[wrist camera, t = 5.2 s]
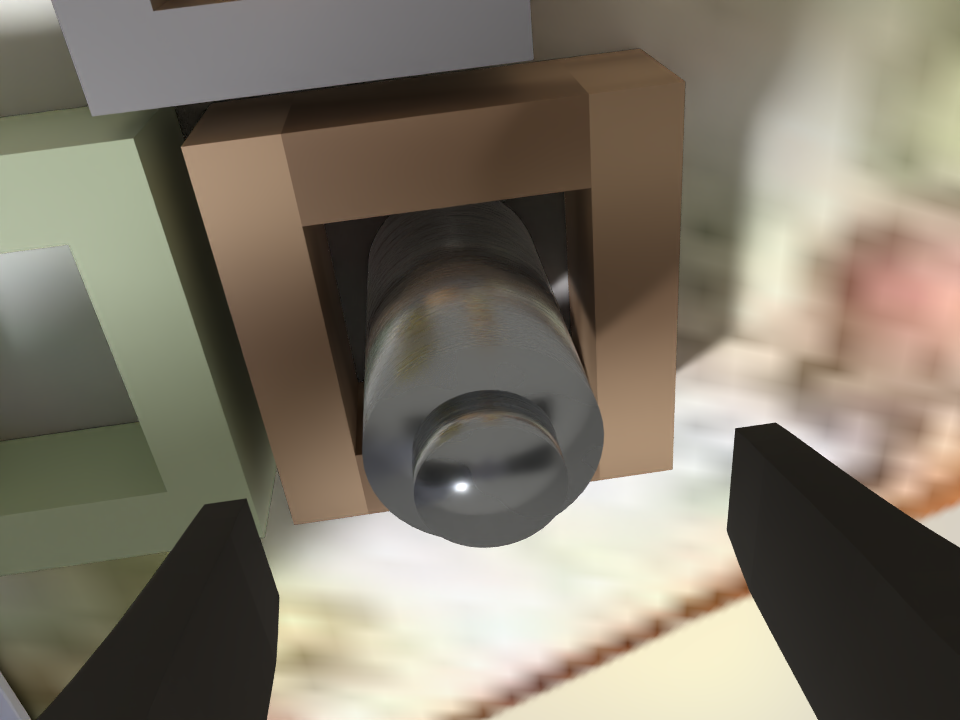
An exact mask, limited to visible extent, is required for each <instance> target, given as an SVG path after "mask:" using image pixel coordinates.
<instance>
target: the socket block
mask: <svg viewBox="0 0 960 720" xmlns="http://www.w3.org/2000/svg"><path fill="white" fill-rule="evenodd" d="M684 106H685V81H684V80H682V79H681V78H680V77H678V76H677V75H676V74H674V73H673V72H672V71H670V70H669V69H667V68H666V67H665V66H663V65H662V64H661V63H659V62H658V61H656V60H655V59H654V58H652V57H651V56H650V55H648V54H647V53H646V52H644V51H643V50H641V49H632V50H624V51H617V52H609V53H601V54H593V55H585V56H578V57H570V58H562V59H554V60H546V61H538V62H531V63H523V64H515V65H507V66H499V67H492V68H484V69H476V70H468V71H460V72H453V73H445V74H437V75H429V76H421V77H413V78H406V79H398V80H390V81H382V82H374V83H367V84H359V85H351V86H343V87H335V88H327V89H320V90H312V91H304V92H296V93H288V94H281V95H273V96H265V97H257V98H249V99H242V100H234V101H226V102H218V103H211V104H210V106H209V107H208V109H207V110H206V111H205V113H204V114H203V116H202V117H201V119H200V120H199V122H198V123H197V124H196V126H195V127H194V129H193V130H192V132H191V133H190V135H189V136H188V137H187V139H186V140H185V142H184V143H183V145H182V146H181V149H182V152H183V156H184V159H185V162H186V166H187V169H188V172H189V176H190V179H191V182H192V186H193V189H194V192H195V196H196V199H197V202H198V206H199V209H200V212H201V216H202V219H203V222H204V226H205V229H206V232H207V236H208V239H209V242H210V246H211V249H212V253H213V256H214V259H215V263H216V266H217V269H218V273H219V276H220V279H221V283H222V286H223V289H224V293H225V296H226V299H227V303H228V306H229V309H230V313H231V316H232V319H233V323H234V326H235V329H236V333H237V336H238V339H239V343H240V346H241V349H242V353H243V356H244V359H245V363H246V366H247V369H248V373H249V376H250V379H251V383H252V386H253V389H254V393H255V396H256V399H257V403H258V406H259V409H260V413H261V416H262V419H263V423H264V426H265V429H266V433H267V436H268V439H269V443H270V446H271V449H272V453H273V456H274V459H275V463H276V466H277V469H278V473H279V476H280V479H281V483H282V486H283V489H284V493H285V496H286V499H287V503H288V506H289V509H290V513H291V516H292V519H293V523H294V525H298V524H304V523H311V522H318V521H325V520H332V519H339V518H345V517H352V516H359V515H366V514H373V513H379V512H386V511H389V510H388V509H387V508H386V507H385V506H384V505H383V504H382V502H381V501H380V500H379V498H378V497H377V496H376V494H375V493H374V491H373V490H372V488H371V486H370V484H369V482H368V479H367V476H366V473H365V470H364V464H363V457H362V446H363V413H364V382H359V383H358V379H357V374H356V369H355V365H354V360H353V356H352V351H351V346H350V342H349V337H348V332H347V328H346V323H345V318H344V314H343V309H342V305H341V300H340V295H339V291H338V286H337V281H336V277H335V272H334V268H333V263H332V258H331V254H330V249H329V244H328V240H327V235H326V230H325V226H324V224H325V223H332V222H340V221H347V220H355V219H362V218H370V217H377V216H385V215H392V214H400V213H407V212H415V211H422V210H429V209H437V208H444V207H452V206H459V205H467V204H474V203H482V202H489V201H497V200H504V199H512V198H519V197H527V196H534V195H542V194H549V193H557V192H564V199H565V220H566V241H567V263H568V284H569V305H570V326H571V339H572V341H573V344H574V346H575V349H576V351H577V354H578V356H579V359H580V361H581V364H582V366H583V369H584V371H585V374H586V376H587V379H588V381H589V384H590V386H591V389H592V391H593V394H594V396H595V399H596V401H597V404H598V406H599V409H600V413H601V416H602V420H603V427H604V445H603V450H602V455H601V459H600V462H599V464H598V467H597V470H596V472H595V473H594V475H593V477H592V479H591V481H598V480H604V479H611V478H618V477H625V476H632V475H639V474H645V473H652V472H659V471H666V470H672V469H673V439H674V409H675V378H676V348H677V318H678V287H679V257H680V227H681V196H682V166H683V136H684ZM591 481H590V482H591Z"/></svg>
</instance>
